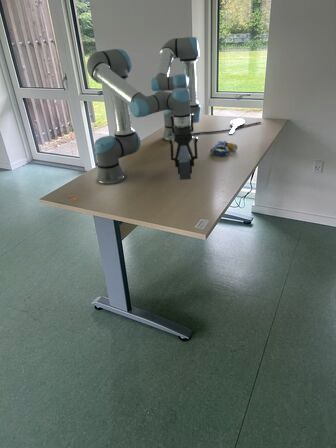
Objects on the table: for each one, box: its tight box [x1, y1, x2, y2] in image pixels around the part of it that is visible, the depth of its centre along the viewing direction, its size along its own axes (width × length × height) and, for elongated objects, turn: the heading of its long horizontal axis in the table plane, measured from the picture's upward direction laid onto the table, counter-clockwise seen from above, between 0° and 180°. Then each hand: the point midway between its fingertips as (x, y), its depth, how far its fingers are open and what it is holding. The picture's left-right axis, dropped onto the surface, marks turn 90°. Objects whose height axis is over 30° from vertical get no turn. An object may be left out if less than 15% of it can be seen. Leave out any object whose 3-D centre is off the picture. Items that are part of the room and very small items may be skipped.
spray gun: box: [209, 140, 238, 157], centre depth 214 cm, size 21×4×15 cm
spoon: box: [228, 118, 245, 135], centre depth 259 cm, size 35×11×2 cm, turn 159°
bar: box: [178, 145, 192, 181], centre depth 181 cm, size 60×5×8 cm, turn 179°
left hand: (185, 172), depth 163 cm, fingers closed on bar, 5 cm apart
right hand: (183, 143), depth 203 cm, fingers closed on bar, 5 cm apart
